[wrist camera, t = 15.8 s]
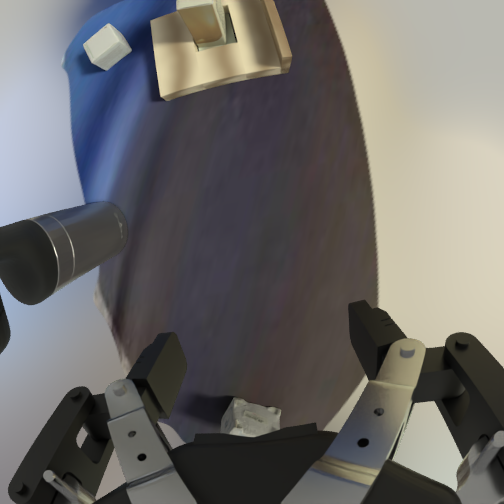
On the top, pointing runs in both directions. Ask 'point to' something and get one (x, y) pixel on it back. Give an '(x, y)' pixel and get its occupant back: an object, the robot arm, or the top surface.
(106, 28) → the small box
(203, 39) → the skincare box
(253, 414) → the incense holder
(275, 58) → the rack
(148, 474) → the robot arm
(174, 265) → the top surface
